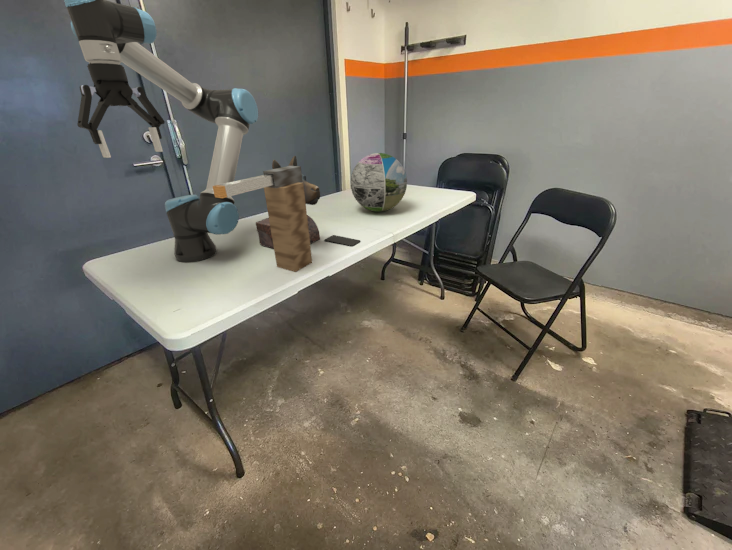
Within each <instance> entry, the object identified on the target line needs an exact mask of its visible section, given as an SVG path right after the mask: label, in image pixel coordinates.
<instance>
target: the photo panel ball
mask: <svg viewBox="0 0 732 550" xmlns="http://www.w3.org/2000/svg"><path fill="white" fill-rule="evenodd" d="M407 186H408V176H407V173H406V170H405V168H404V166H403V165H402V163H401V162H400V161H399V160H398V159H397V158H396V157H394V156H393V155H390V154H388V153H384V152H383V153H382V152H376V153H371V154H368V155H365V156H364V157H363V158H362V159H360V160H359V161H358V162H357V164H355V166H354V168H353V171H352V173H351V176H350V190H351V192H352V195H353V197H354V199H355V201H357V203H358V204H359V205H360V206H361V207H362V208H364V209H366V210H368V211H372V212H377V213H378V212H385V211H388V210H389V211H390V210H391V209H393V208H394V207H396V206H397V205H398V204H399V203H400V202H401V201H402V200H403V198H404V196H405V194H406V191H407Z"/></svg>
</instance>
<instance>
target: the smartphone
mask: <svg viewBox="0 0 732 550" xmlns="http://www.w3.org/2000/svg"><path fill="white" fill-rule="evenodd" d="M323 241H324V242H325V243H329V244H330V243H331V244H335V245H340V246H346V247H350V248H351V247H355V246H356V245H358V244H360V243H361V242H362V241H361V240H359V239H356V238H350V237H345V236H340V235H335V234H332V235H331V236H328V237H326V238H325V239H324V240H323Z"/></svg>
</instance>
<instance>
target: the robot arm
mask: <svg viewBox="0 0 732 550" xmlns="http://www.w3.org/2000/svg"><path fill="white" fill-rule="evenodd" d="M63 2H64V5H65V8H66V10H67V13H68V15H69V18H70V28H71V32H72V33H73V35H74V37H75V38H76V39H77V41H78V44H79V46H80V49H81V50H80V51H81V52H82V55H83V58H84V60H85V62H87V63H88V64H87V65H86V67H87V70H88V71H89V75H90V79H91V81H92V82H93V83H92V84H93V86H91V85H90V86H89V85H87V84H81V85H79V91H80V95H81V96H80V97H81V98H80V103H79V104H80V105H79V111H78V118H77V126H78V128H80V129H85V130H87V131H89V134H90V136H91V140H92V142H93V144H95V145H98V147H99V151H100V152H101V155H102V157H103V159H104V158H107V159H108V158H110V159H111V158H112V155H111V153H110V149H109V147H108V144H107V142H106V139H105V136H104V132H103V130H102V129H101V130H100V129H98V128H99V126H100V124H101V122H102V120H103V118H104V116H105V114H106V111H107V109H109V107H118V106H119V107H126V106H127V107H128V108H130V109H131V110H132V111H134V112H135V113H136V114H137V115H138V116H139V117H140V118H141V119H143V120H144V121H145V122H146V123H147V124H148V125H149V127H148V131H149V135H150V138H151V141H152V145H153V149H154V152H157V153H163V152H164V150H163V147H162V143H161V140H162V138H163V137H162V133H161V130H160V127H161V126H162V125H164V124H165V122H166V121H165V120H164V118H163V117H162V116H161V115H160V113H159V112H158V110H157V109H156V108H155V107H154V105H153V103H152V102H151V100H149V98H148V97H147V96H146V92H145V90H144V88H143V87H142V86H135V87H131V86H130V84H129V80H128V77H127V73H126V69H125V67H124V66H123V65H122V63H123V64H124V65H125V66H127V67H128V68H130V69H132V70H133V71H135V72H136V73H137V74H139V75H140V76H142V77H143V78H145V79H146V80H147V81H149V82H151V83H152V84H154V85H156V86H157V87H159V88H160V89H162V90H163V91H165V92H166V93H167V94H169V95H170V96H172V97H174V98H175V99H176V100H178V101H180V102H181V105H182V107H184V108H185V109H186V110H188V111H190V112H191V113H193V114H195V115H196V116H198V117H200V118H201V119H203V120H205V121H207V122H210V123H213V124H216V126H217V128H218V129H217V132H216V133H217V134H216V138H215V143H214V147H213V148H214V149H213V153H212V158H211V163H210V167H209V168H210V169H209V173H208V178H207V183H206V188H205V190H203V191H201V192H200V193H199V194H200V195H199V196H198V195H197V194H188V195H183V196H179V197H178V196H177V197H173V198H170V199H167V200H166V201H165V202H164V208H165V213H166V216H167V218H168V219H167V220H168V222H169V225H170V229H171V231H172V234H173V238H174V248H173V249H174V251H173V254H174V258H175V260H176V261H178V262H179V263H180V262H182V263H193V262H199V261H203V260H206V259H207V260H208V259H209V258H211V257H214V256H215V255H216V254H217V252H218V249H217V246H216V244H215V242H214V241H213V240H212V238H211V236H210V235H209V234H213V235H228V234H229V233H230V232H233V231H234V230H235V228H236V227H237V225H238V223H239V217H240V214H239V210H238V207H237V206H236V205H235V199H234V198H233V196H230V197H226V198H217V197H215V195H214V191H213V186H215V185H220V184H224V183H229V182H233V181H235V178H236V174H237V170H238V169H237V168H238V162H239V159H240V158H239V157H240V152H241V147H242V141H243V138H244V137H243V136H244V135H246V134H248V133H249V131H250V130H249V128H250V125H253V124H255V123H257V122H258V119H259V110H258V103H256V102H257V101H256V100H255V97H254V96H253V94H252V93H251V92H250V91H249V90H247V89H244V88H237V87H234V88H229V89H228V88H227V89H207V88H205V87H202V86H201V85H200V84H198V83H196V82H191V81H190V80H188V79H187V78H186V77H185V76H183V75H181V73H179V72H178V71H176V70H175V69H173V68H172V67H171V66H170V65H169V64H167V63H166V62H164V61H163V60H162V59H160V58H158V57H157V56H156V55H154V53H153V52H151V51H149V50H148V49H147V48H145V47H144V46H143V45H142V44H146V45H147V44H148V45H151V44H153V43H154V42H155V41H156V39H157V33H158V32H157V31H158V30H157V27H156V23H155V21H154V18H153V17H152V16H151V15H150V14H149V13H148V12H147V11H145V10H143V9H139V8H137V7H135V6H129V5H126V4H122V3H118V2H113V1H110V0H63ZM94 93H95V94H96V95H97V96H98V97H99V100H98V102H97V106H96V107H95V110H94V111H93V114H92V116H91V117H90V113H91V106H92V100H93V97H94V96H95V95H94ZM133 96H134V97H137V99H138V101H139V102H140V103H141V104H142V106H143V108H142V106H140V105H139V103H138V102H137V101H136V100H135V99H133Z"/></svg>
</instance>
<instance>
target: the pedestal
mask: <svg viewBox="0 0 732 550" xmlns="http://www.w3.org/2000/svg"><path fill="white" fill-rule="evenodd" d="M262 172H263V173H262V175H265V174H273V177H274V184H275V185H272V186H268V187H265V188H263V190H264V196H265V203H266V209H267V215H268V216H267V217H268V218H269V222H270V228H271V234H272V240H273V246H274V248H273V251H274V256H275V262H276V267H277V268H280V269H283V270H286V271H287V270H288V271H290V272H295V273H297V272H298V271H300V270H302V269H304V268H305V267H307V266H309V265H311V264H313V257H312V249H311V244H310V238H309V229H308V220H307V215H308V213H307V204H306V203H305V194H304V185H303V183H300V182H302V174H303V173H302V166H299V165H297V166H289V165H288V166H283V167H282V166H281V168H277V169H267V170H262Z"/></svg>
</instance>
